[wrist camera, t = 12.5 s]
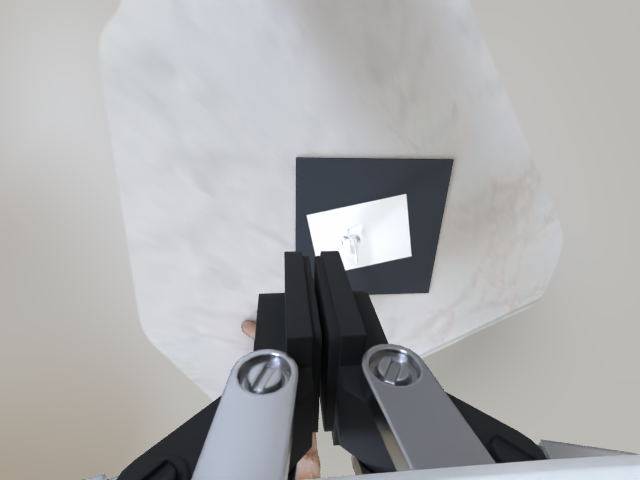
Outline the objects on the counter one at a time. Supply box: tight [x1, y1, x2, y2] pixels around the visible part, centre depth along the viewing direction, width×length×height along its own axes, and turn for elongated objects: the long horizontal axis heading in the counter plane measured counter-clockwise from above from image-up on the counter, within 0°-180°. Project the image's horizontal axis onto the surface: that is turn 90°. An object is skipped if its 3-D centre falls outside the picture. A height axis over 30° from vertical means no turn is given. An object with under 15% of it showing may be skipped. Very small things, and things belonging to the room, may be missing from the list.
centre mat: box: [296, 158, 453, 295], centre depth 36 cm, size 15×15×1 cm
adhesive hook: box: [339, 224, 364, 264], centre depth 35 cm, size 3×3×3 cm
